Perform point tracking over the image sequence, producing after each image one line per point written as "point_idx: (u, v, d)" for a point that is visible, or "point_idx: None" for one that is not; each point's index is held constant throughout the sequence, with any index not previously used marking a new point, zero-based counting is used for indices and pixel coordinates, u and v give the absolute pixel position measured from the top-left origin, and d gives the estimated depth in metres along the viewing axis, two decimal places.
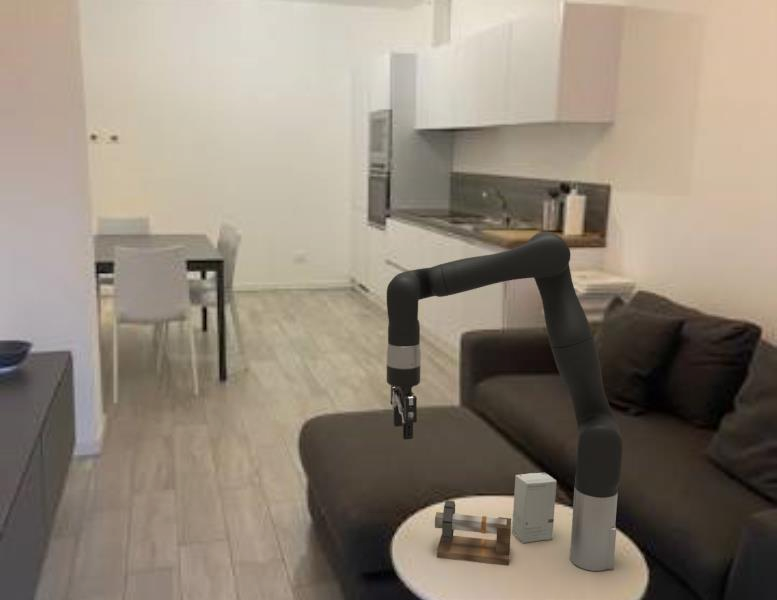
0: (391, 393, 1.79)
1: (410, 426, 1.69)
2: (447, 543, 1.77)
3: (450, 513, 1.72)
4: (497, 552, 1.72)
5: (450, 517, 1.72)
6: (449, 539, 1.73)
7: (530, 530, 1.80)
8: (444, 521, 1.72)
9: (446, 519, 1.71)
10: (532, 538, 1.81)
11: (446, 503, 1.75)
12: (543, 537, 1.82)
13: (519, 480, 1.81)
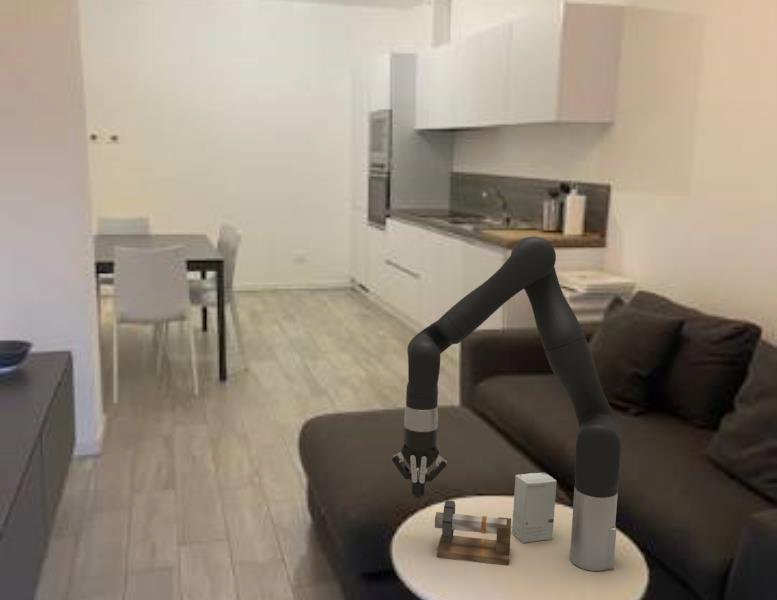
0: (401, 468, 1.74)
1: (425, 483, 1.76)
2: (447, 543, 1.77)
3: (450, 513, 1.72)
4: (497, 552, 1.72)
5: (450, 517, 1.72)
6: (449, 539, 1.73)
7: (530, 530, 1.80)
8: (444, 521, 1.72)
9: (446, 519, 1.71)
10: (532, 538, 1.81)
11: (446, 503, 1.75)
12: (543, 537, 1.82)
13: (520, 480, 1.81)
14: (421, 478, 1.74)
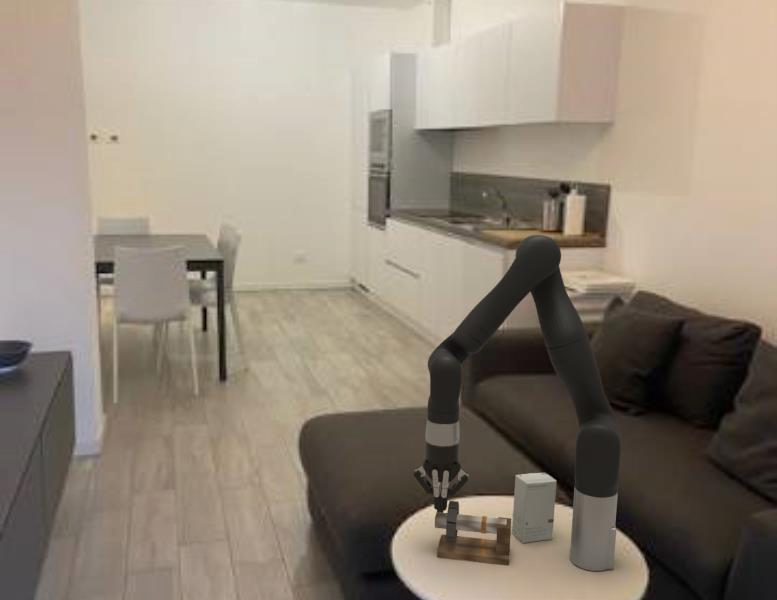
0: (423, 483, 1.74)
1: None
2: (447, 543, 1.77)
3: (454, 513, 1.72)
4: (497, 552, 1.72)
5: (454, 517, 1.72)
6: (453, 539, 1.73)
7: (530, 530, 1.80)
8: (448, 521, 1.72)
9: (450, 520, 1.71)
10: (532, 538, 1.81)
11: (450, 503, 1.75)
12: (543, 537, 1.82)
13: (519, 480, 1.81)
14: (443, 492, 1.73)
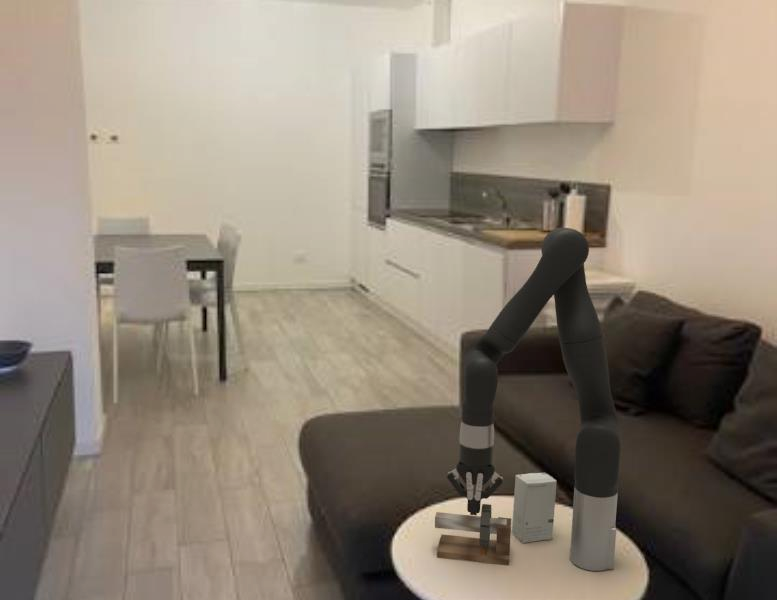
0: (456, 485, 1.72)
1: None
2: (447, 543, 1.77)
3: (488, 517, 1.71)
4: (497, 552, 1.72)
5: (488, 521, 1.70)
6: (487, 543, 1.71)
7: (530, 530, 1.80)
8: (482, 525, 1.70)
9: (484, 523, 1.70)
10: (532, 538, 1.81)
11: (483, 507, 1.73)
12: (543, 537, 1.82)
13: (520, 480, 1.81)
14: (477, 495, 1.72)
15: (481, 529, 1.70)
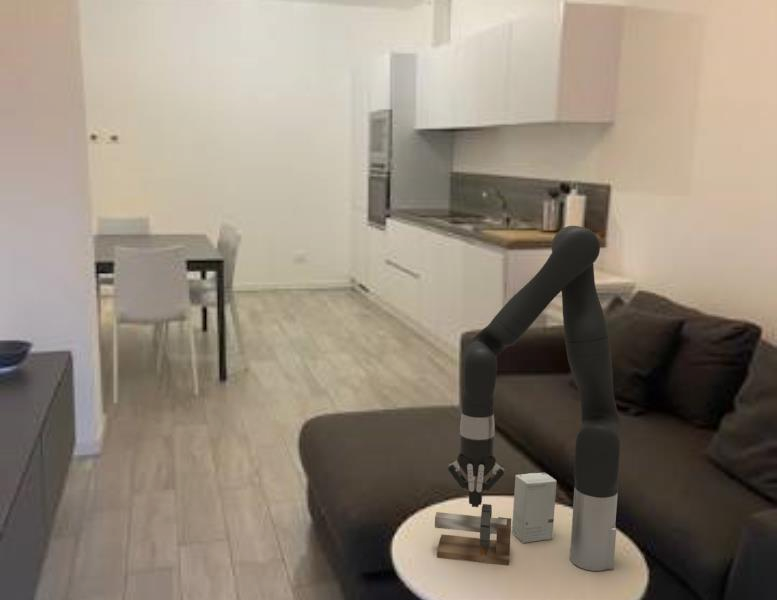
0: (457, 477, 1.72)
1: None
2: (447, 543, 1.77)
3: (488, 517, 1.71)
4: (497, 552, 1.72)
5: (488, 521, 1.70)
6: (487, 543, 1.71)
7: (530, 530, 1.80)
8: (482, 525, 1.70)
9: (484, 523, 1.70)
10: (532, 538, 1.81)
11: (483, 507, 1.73)
12: (543, 537, 1.82)
13: (519, 480, 1.81)
14: (478, 487, 1.71)
15: (481, 529, 1.70)
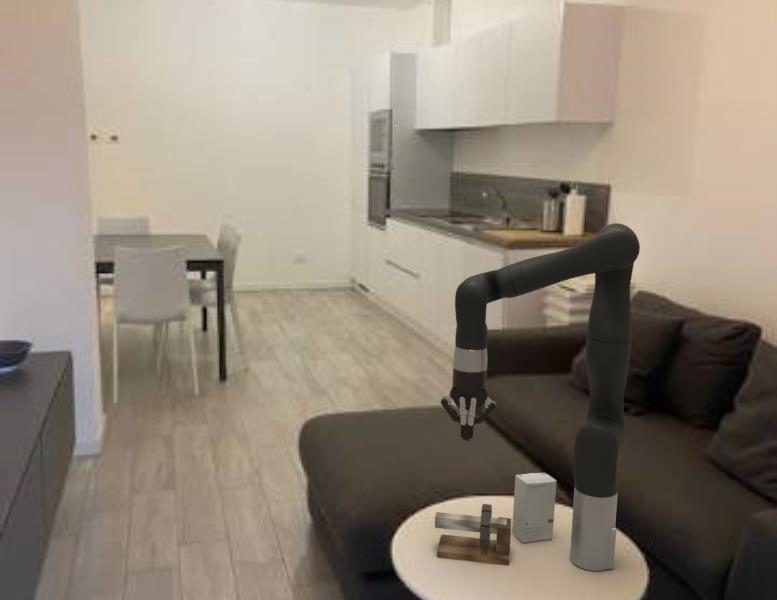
0: (450, 411, 1.74)
1: None
2: (447, 543, 1.77)
3: (488, 517, 1.71)
4: (497, 552, 1.72)
5: (488, 521, 1.70)
6: (487, 543, 1.71)
7: (530, 530, 1.80)
8: (482, 525, 1.70)
9: (484, 523, 1.70)
10: (532, 538, 1.81)
11: (483, 507, 1.73)
12: (543, 537, 1.82)
13: (519, 480, 1.81)
14: (470, 420, 1.73)
15: (481, 529, 1.70)
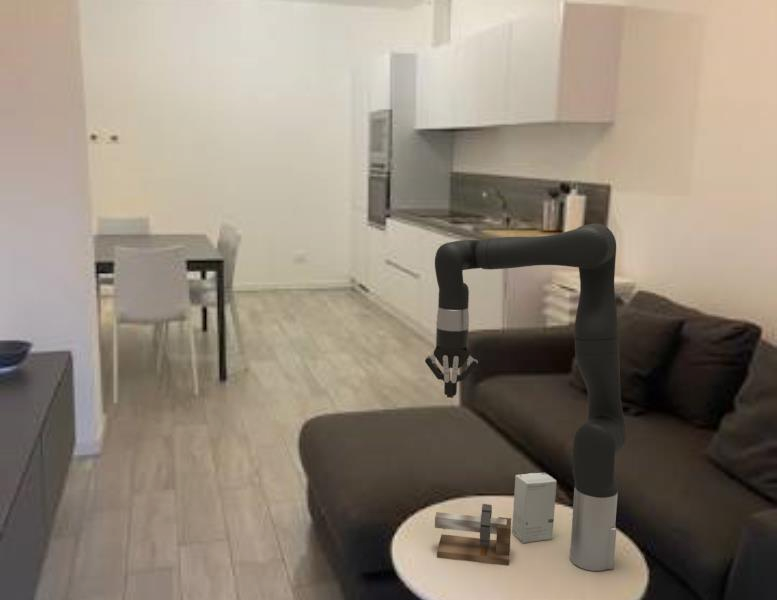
0: (434, 369, 1.83)
1: (456, 384, 1.84)
2: (447, 543, 1.77)
3: (488, 517, 1.71)
4: (497, 552, 1.72)
5: (488, 521, 1.70)
6: (487, 543, 1.71)
7: (530, 530, 1.80)
8: (482, 525, 1.70)
9: (484, 523, 1.70)
10: (532, 538, 1.81)
11: (483, 507, 1.73)
12: (543, 537, 1.82)
13: (519, 480, 1.81)
14: (453, 378, 1.83)
15: (481, 529, 1.70)
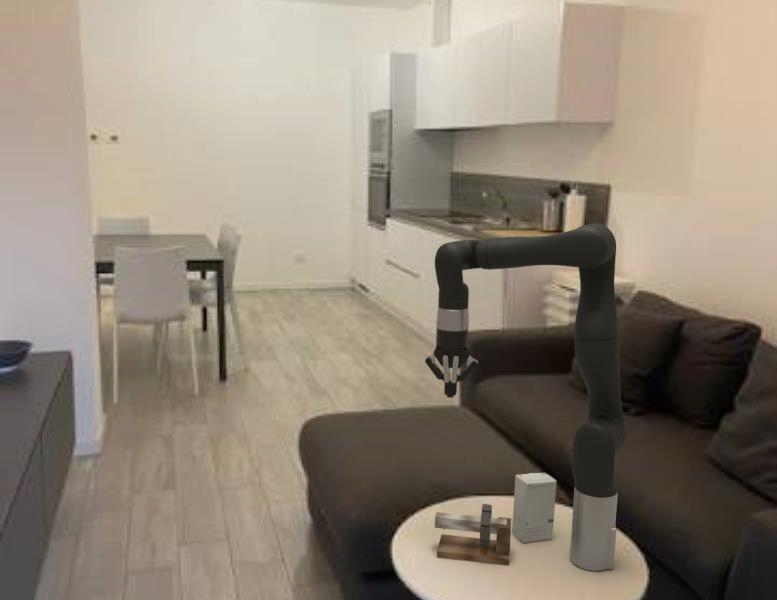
0: (434, 369, 1.83)
1: (456, 384, 1.84)
2: (447, 543, 1.77)
3: (488, 517, 1.71)
4: (497, 552, 1.72)
5: (488, 521, 1.70)
6: (487, 543, 1.71)
7: (530, 530, 1.80)
8: (482, 525, 1.70)
9: (484, 523, 1.70)
10: (532, 538, 1.81)
11: (483, 507, 1.73)
12: (543, 537, 1.82)
13: (519, 480, 1.81)
14: (453, 378, 1.83)
15: (481, 529, 1.70)
